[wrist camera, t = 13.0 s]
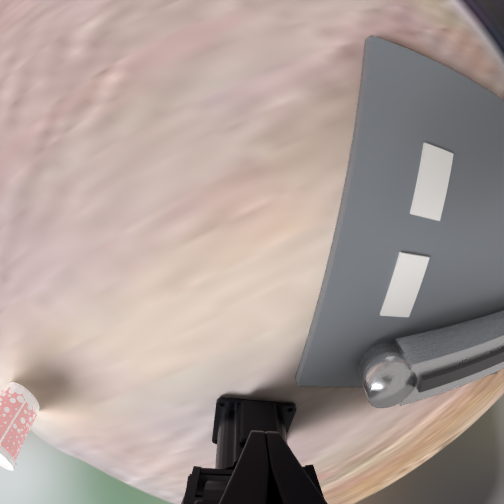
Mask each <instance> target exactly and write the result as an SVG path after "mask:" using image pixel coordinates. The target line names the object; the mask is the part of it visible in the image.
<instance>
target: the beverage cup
mask: <svg viewBox="0 0 504 504" xmlns="http://www.w3.org/2000/svg"><path fill="white" fill-rule="evenodd" d="M39 410H40V407H39V404H38V402H37V400H36V398H35V397H34V396H33V395H32V394H31V393H30V392H29V391H28V390H27V389H26V388H25V387H23V386H22V385H20V384H18V383H15V382H10V383H9V384H8V385H7V386H6V387H5V389H4V390H3V391H2V392H1V393H0V466H2V467H4V468H5V469H8V470H11V471H13V470H14V469H15V465H16V462H15V460H16V458H17V456H18V454H19V451H20V449H21V447H22V445H23V443H24V440H25V438H26V436H27V434H28V432H29V430H30V428H31V426H32V424H33V422H34V420H35V417H36V415H37V414H38V412H39Z"/></svg>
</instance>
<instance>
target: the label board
mask: <svg viewBox="0 0 504 504" xmlns="http://www.w3.org/2000/svg"><path fill="white" fill-rule="evenodd" d="M503 310H504V100H503V99H501V98H500V97H498V96H497V95H495V94H494V93H492V92H491V91H489V90H487V89H486V88H484V87H483V86H481V85H479V84H478V83H476V82H474V81H472V80H471V79H469V78H467V77H465V76H463V75H462V74H460V73H458V72H456V71H454V70H452V69H450V68H448V67H446V66H444V65H442V64H440V63H438V62H436V61H434V60H432V59H430V58H428V57H426V56H423V55H421V54H419V53H417V52H414V51H412V50H410V49H407V48H405V47H402V46H400V45H397V44H395V43H392V42H389V41H387V40H384V39H381V38H378V37H375V36H373V35H371V36H369V37H368V38H367V39H366V40H365V48H364V58H363V68H362V76H361V85H360V92H359V100H358V107H357V114H356V121H355V128H354V134H353V140H352V146H351V152H350V158H349V164H348V169H347V175H346V180H345V185H344V190H343V195H342V200H341V205H340V210H339V215H338V219H337V224H336V229H335V233H334V238H333V242H332V246H331V251H330V255H329V259H328V263H327V267H326V271H325V275H324V279H323V283H322V287H321V291H320V295H319V299H318V302H317V306H316V310H315V313H314V317H313V321H312V324H311V328H310V331H309V335H308V338H307V341H306V345H305V348H304V352H303V355H302V358H301V361H300V365H299V368H298V371H297V374H296V382H297V386H308V387H363V386H362V384H361V381H360V379H359V377H358V374H357V371H356V367H357V363H358V361H359V359H360V358H361V357H362V355H363V354H364V353H365V352H367V351H368V350H369V349H371V348H372V347H374V346H376V345H379V344H383V343H391V344H395V339H397V338H402V337H406V336H411V335H415V334H420V333H424V332H428V331H432V330H437V329H441V328H444V327H448V326H452V325H456V324H460V323H463V322H467V321H470V320H474V319H477V318H481V317H484V316H487V315H490V314H494V313H497V312H500V311H503ZM497 372H498V371H496V372H494V373H492V374H496V373H497Z"/></svg>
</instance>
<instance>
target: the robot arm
mask: <svg viewBox="0 0 504 504" xmlns="http://www.w3.org/2000/svg"><path fill="white" fill-rule="evenodd" d="M295 412H296V405H295V404H294V403H288V402H269V401H255V400H243V399H233V398H224V397H221V398H218V399H217V402H216V411H215V419H214V428H213V437H212V442H213V443H215V444H217V454H216V467H215V469H213V468H201V467H198V466H194V467H193V471H192V474H190V476H188V481H187V488H186V492H185V496H184V498H183V501H182V503H181V504H327V502H326V501H325V499H324V497H323V494H322V491H321V488H320V485H319V482H318V479H317V476H316V472H315V469H314V466H313V465H306V466H305V467H302V466H301V465H300V463H299V462H298V460H297V459H296V457H295V456H294V454H293V453H292V451H291V450H290V448H289V446H288V445H287V437H286V435H287V432H288V430H289V427H290V425H291V422H292V419H293V417H294V414H295Z"/></svg>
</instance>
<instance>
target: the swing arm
mask: <svg viewBox="0 0 504 504" xmlns="http://www.w3.org/2000/svg"><path fill="white" fill-rule="evenodd" d="M503 368H504V310H503V311H500V312H497V313H494V314H490V315H487V316H484V317H481V318H477V319H474V320H470V321H467V322H463V323H460V324H456V325H452V326H448V327H444V328H441V329H437V330H432V331H428V332H424V333H420V334H415V335H411V336H406V337H402V338H397V339H395V344H391V343H383V344H379V345H376V346H374V347H372V348H371V349H369V350H368V351H367V352H365V353H364V354H363V355H362V357H361V358H360V359H359V361H358V363H357V367H356V371H357V374H358V377H359V379H360V381H361V384H362V386H363V388H364V391H365V393H366V395H367V398H368V400H369V402H370V404H371V405H372V406H374V407H376V408H387V407H391V406H394V405H396V404H398V403H399V404H400V405H405V404H408V403H412V402H415V401H418V400H422V399H425V398H428V397H431V396H434V395H437V394H440V393H443V392H446V391H449V390H452V389H454V388H457V387H460V386H463V385H465V384H468V383H470V382H473V381H475V380H478V379H480V378H483V377H485V376H487V375H490V374H492V373H494V372H496V371H499V370H501V369H503Z"/></svg>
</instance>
